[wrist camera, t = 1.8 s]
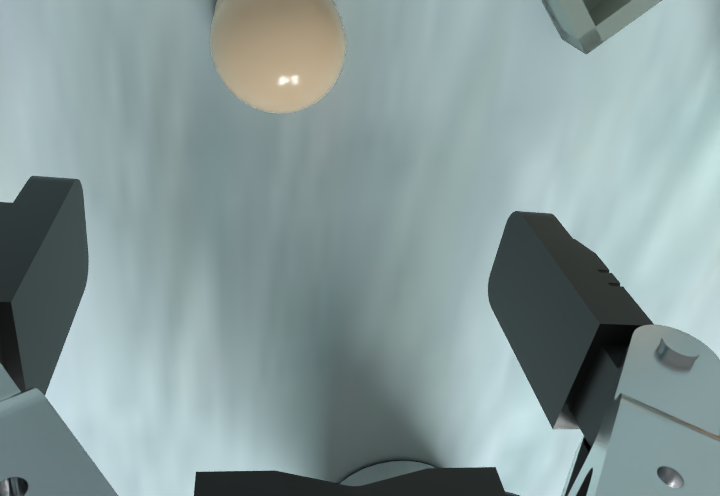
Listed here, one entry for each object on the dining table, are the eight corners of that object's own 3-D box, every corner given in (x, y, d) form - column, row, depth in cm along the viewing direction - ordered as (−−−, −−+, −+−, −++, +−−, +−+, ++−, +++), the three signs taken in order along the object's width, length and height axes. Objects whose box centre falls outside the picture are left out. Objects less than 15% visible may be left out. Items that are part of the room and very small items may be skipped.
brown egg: (358, 32, 27) (383, 74, 22) (269, 104, 28) (273, 159, 23) (283, -71, 25) (291, -50, 20) (188, 12, 26) (173, 52, 21)
